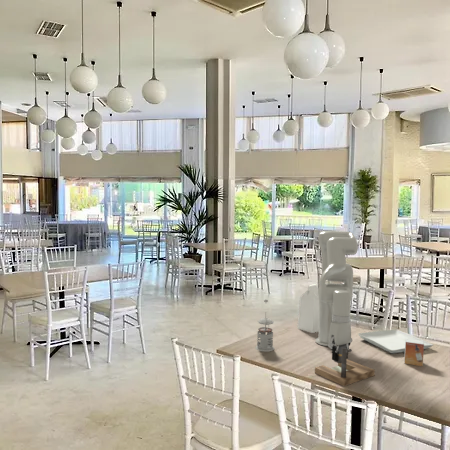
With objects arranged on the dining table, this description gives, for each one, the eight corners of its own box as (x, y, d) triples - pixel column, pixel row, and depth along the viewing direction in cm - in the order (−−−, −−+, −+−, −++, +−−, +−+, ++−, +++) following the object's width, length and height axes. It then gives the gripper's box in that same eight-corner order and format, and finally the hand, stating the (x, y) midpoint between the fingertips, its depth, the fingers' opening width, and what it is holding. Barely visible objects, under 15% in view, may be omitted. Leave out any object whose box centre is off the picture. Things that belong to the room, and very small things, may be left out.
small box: (404, 363, 208) (405, 341, 207) (404, 359, 213) (405, 338, 212) (423, 366, 205) (424, 344, 204) (422, 362, 210) (423, 340, 209)
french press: (253, 350, 222) (254, 300, 221) (257, 343, 233) (258, 295, 232) (273, 352, 220) (274, 302, 218) (276, 344, 231) (277, 297, 230)
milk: (310, 324, 268) (311, 282, 267) (325, 329, 260) (327, 285, 258) (297, 328, 261) (298, 284, 259) (312, 333, 252) (314, 287, 250)
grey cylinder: (339, 358, 200) (339, 342, 199) (348, 361, 195) (349, 346, 195) (330, 360, 197) (331, 344, 196) (340, 364, 192) (341, 348, 192)
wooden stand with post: (345, 363, 206) (346, 333, 205) (374, 375, 193) (375, 342, 192) (314, 373, 195) (316, 340, 194) (344, 386, 182) (345, 351, 181)
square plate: (356, 339, 243) (356, 332, 243) (396, 335, 253) (396, 328, 252) (391, 356, 218) (391, 349, 217) (434, 351, 227) (434, 343, 227)
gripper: (347, 314, 203) (345, 353, 204) (321, 319, 193) (319, 360, 194) (360, 317, 197) (359, 358, 198) (334, 323, 187) (333, 365, 188)
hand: (339, 358), depth 196 cm, fingers closed on grey cylinder, 5 cm apart
